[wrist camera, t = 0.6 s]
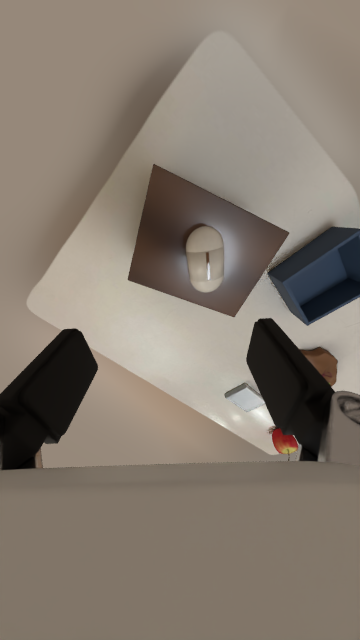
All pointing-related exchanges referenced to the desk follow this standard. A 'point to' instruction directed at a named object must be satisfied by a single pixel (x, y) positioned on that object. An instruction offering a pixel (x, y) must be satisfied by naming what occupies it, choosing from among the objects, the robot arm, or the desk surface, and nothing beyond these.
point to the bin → (321, 275)
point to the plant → (323, 363)
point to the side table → (174, 229)
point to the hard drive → (245, 398)
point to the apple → (284, 442)
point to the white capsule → (205, 259)
